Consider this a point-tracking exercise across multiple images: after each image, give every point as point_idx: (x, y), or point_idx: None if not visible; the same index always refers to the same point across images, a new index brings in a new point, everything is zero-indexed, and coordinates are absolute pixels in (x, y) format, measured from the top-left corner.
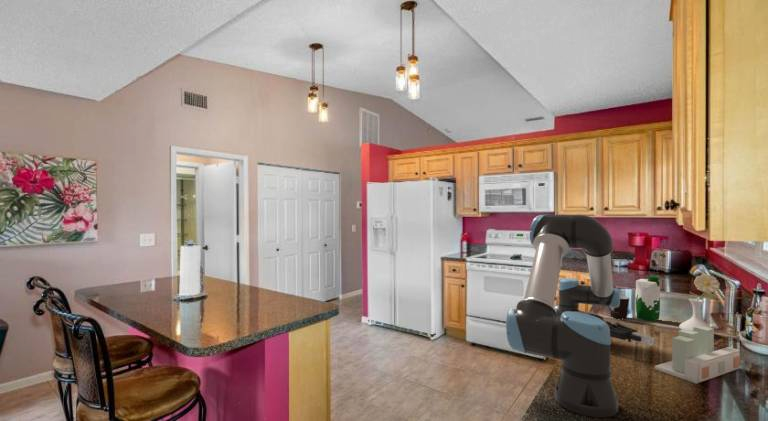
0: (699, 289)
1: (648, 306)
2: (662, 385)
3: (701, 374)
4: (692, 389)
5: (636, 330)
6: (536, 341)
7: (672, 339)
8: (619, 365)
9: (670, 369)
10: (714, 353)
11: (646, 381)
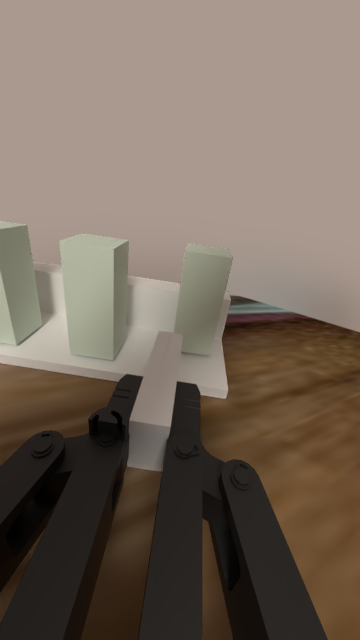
0: None
1: None
2: (305, 363)
3: None
4: (253, 334)
5: (45, 432)
6: None
7: (230, 264)
8: (355, 496)
9: (210, 361)
10: None
11: (334, 386)
